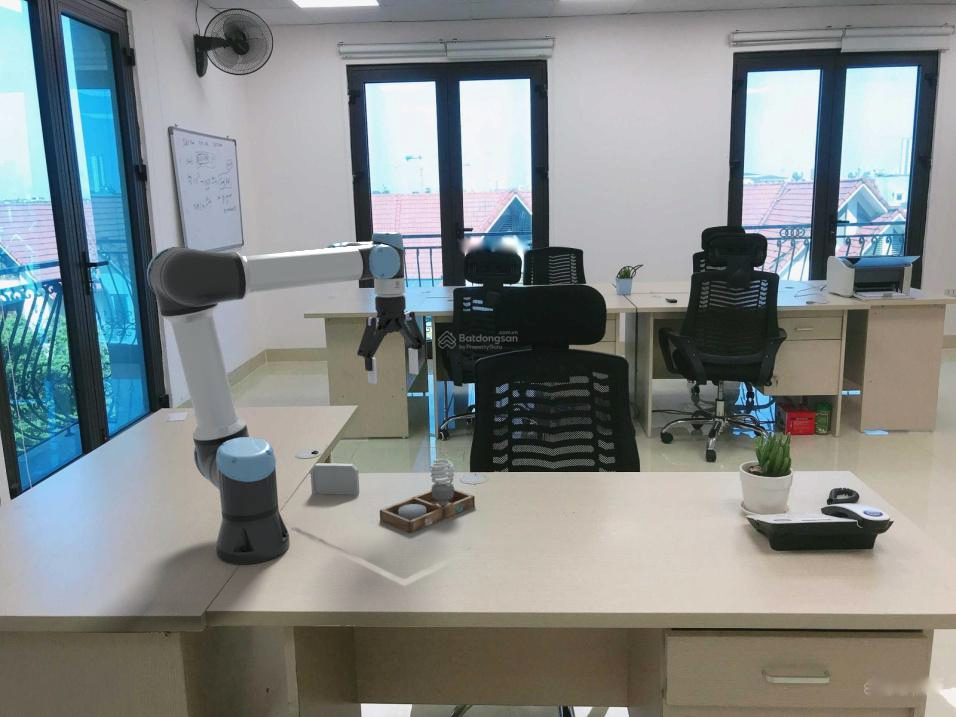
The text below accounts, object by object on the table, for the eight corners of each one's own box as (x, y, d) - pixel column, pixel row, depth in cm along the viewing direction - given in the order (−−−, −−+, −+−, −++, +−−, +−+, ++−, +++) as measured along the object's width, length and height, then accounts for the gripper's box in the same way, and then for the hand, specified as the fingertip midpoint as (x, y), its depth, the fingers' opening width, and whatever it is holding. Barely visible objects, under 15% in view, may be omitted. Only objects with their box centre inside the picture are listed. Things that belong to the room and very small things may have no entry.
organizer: (411, 537, 170) (410, 522, 170) (380, 524, 178) (379, 509, 177) (475, 509, 185) (475, 496, 184) (444, 498, 192) (443, 485, 191)
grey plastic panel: (357, 495, 196) (356, 465, 194) (311, 494, 197) (309, 465, 195) (359, 492, 198) (357, 463, 196) (313, 491, 199) (312, 462, 197)
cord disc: (411, 527, 173) (411, 517, 173) (393, 519, 178) (392, 510, 177) (432, 518, 178) (432, 509, 177) (413, 511, 182) (413, 501, 182)
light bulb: (427, 508, 184) (425, 460, 181) (439, 500, 188) (437, 453, 186) (447, 512, 181) (446, 464, 178) (459, 504, 186) (458, 456, 183)
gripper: (358, 301, 180) (363, 390, 184) (437, 291, 197) (439, 371, 202) (339, 299, 185) (344, 385, 189) (417, 289, 203) (420, 367, 207)
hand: (393, 378), depth 196 cm, fingers open, 13 cm apart
